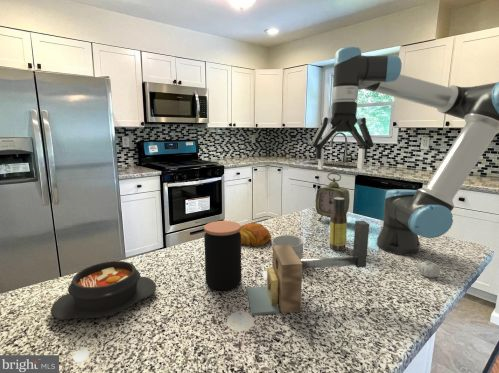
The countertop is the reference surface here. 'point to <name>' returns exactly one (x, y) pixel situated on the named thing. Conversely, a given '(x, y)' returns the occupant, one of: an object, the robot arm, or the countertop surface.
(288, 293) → the bearing block
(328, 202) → the tabletop clock
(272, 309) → the slate mat
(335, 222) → the sauce bottle
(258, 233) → the croissant
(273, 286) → the plate
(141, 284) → the casserole
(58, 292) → the countertop surface
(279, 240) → the teacup
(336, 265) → the shaft
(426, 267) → the garlic
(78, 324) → the countertop surface
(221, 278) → the coffee jar
